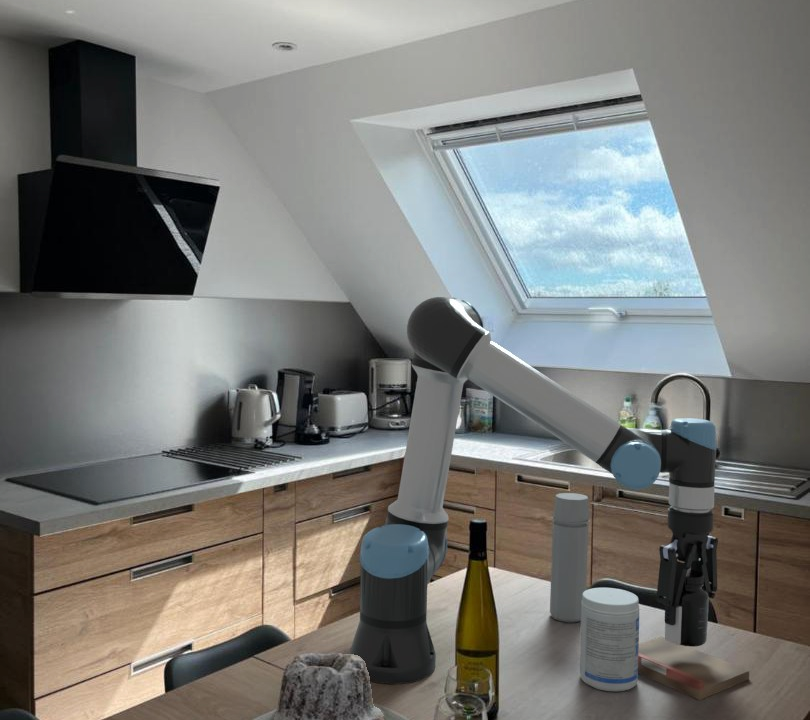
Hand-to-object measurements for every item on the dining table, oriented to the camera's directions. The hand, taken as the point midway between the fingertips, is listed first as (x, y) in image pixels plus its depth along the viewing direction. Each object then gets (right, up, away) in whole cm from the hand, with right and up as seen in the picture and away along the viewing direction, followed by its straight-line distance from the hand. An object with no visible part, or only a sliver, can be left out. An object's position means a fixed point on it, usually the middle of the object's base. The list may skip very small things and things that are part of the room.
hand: (685, 636), depth 147 cm
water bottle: (-16, -4, +25) cm, 30 cm away
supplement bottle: (0, -1, 0) cm, 1 cm away
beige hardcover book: (-1, -6, -1) cm, 6 cm away
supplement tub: (-15, -6, -5) cm, 17 cm away
